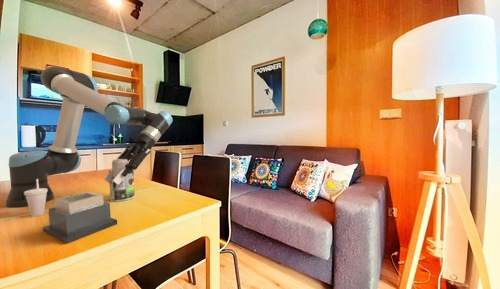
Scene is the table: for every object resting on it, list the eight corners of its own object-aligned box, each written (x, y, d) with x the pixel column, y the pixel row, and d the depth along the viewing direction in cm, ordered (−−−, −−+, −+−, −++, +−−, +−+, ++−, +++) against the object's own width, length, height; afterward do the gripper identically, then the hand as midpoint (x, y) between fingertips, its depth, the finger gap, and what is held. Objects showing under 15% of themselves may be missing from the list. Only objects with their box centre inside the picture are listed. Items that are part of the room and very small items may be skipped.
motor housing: (43, 231, 66) (40, 199, 65) (92, 215, 78) (91, 188, 77) (66, 243, 58) (64, 207, 58) (117, 224, 71) (115, 194, 70)
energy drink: (117, 187, 85) (116, 158, 84) (131, 187, 85) (130, 158, 85) (110, 191, 80) (108, 160, 79) (124, 190, 80) (123, 160, 79)
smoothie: (53, 212, 82) (50, 178, 81) (31, 219, 76) (28, 181, 75) (43, 210, 84) (40, 177, 83) (21, 216, 78) (18, 180, 77)
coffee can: (139, 195, 103) (138, 167, 102) (123, 202, 93) (121, 171, 92) (122, 194, 105) (121, 167, 104) (104, 201, 95) (102, 171, 94)
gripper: (167, 144, 91) (132, 190, 77) (140, 143, 99) (105, 184, 86) (156, 132, 86) (117, 179, 72) (129, 132, 94) (90, 173, 81)
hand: (110, 181), depth 79 cm, fingers closed on energy drink, 5 cm apart
